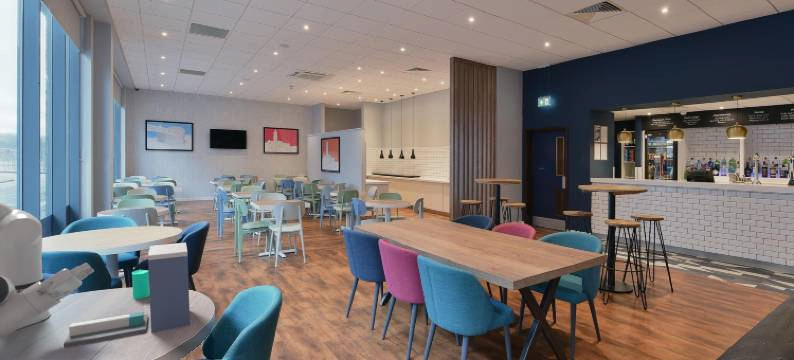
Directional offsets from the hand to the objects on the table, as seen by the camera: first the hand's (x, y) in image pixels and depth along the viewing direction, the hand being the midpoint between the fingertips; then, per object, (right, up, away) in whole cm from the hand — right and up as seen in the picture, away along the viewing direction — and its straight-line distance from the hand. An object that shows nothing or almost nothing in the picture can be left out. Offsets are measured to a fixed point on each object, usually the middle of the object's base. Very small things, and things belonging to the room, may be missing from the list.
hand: (90, 266), depth 132 cm
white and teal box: (+4, -21, +3) cm, 22 cm away
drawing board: (+4, -22, +3) cm, 23 cm away
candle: (-6, -20, +36) cm, 42 cm away
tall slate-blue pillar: (+20, -22, +12) cm, 32 cm away
